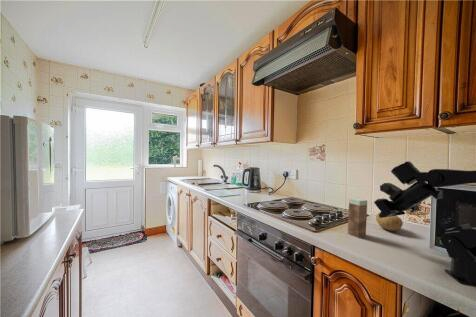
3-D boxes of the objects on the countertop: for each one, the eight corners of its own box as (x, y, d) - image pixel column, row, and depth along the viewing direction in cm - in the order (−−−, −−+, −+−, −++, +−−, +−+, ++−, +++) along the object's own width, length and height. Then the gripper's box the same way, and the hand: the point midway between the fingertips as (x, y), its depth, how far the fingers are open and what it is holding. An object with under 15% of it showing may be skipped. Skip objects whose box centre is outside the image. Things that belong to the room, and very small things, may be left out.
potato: (390, 225, 105) (391, 210, 104) (408, 235, 91) (409, 218, 90) (370, 223, 106) (370, 208, 106) (384, 233, 92) (385, 216, 92)
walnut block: (365, 236, 89) (367, 200, 88) (358, 237, 87) (359, 201, 86) (355, 232, 93) (356, 197, 93) (347, 233, 91) (349, 198, 91)
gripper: (411, 176, 79) (380, 198, 90) (380, 177, 72) (351, 200, 82) (435, 200, 72) (399, 221, 83) (405, 204, 65) (369, 226, 75)
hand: (380, 216), depth 81 cm, fingers closed
